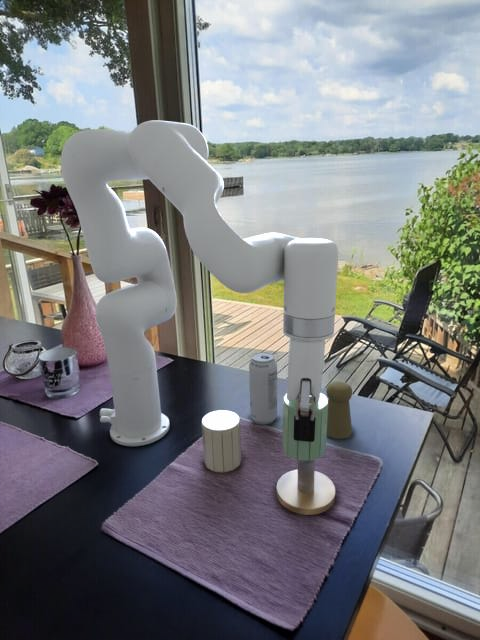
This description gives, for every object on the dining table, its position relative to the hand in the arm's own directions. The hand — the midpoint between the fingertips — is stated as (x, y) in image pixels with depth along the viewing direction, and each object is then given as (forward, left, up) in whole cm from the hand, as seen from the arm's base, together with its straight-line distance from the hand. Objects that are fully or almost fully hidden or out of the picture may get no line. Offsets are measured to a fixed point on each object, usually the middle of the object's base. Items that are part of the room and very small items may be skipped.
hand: (304, 425), depth 71 cm
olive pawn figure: (+6, +20, -14) cm, 25 cm away
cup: (-16, +7, -13) cm, 22 cm away
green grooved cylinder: (0, 0, -4) cm, 4 cm away
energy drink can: (-10, +23, -13) cm, 28 cm away
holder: (0, 0, -13) cm, 13 cm away
